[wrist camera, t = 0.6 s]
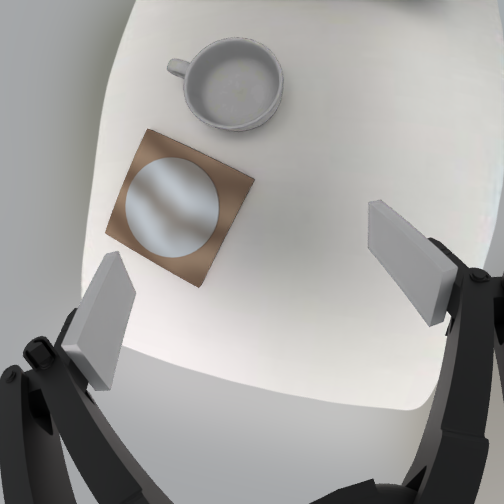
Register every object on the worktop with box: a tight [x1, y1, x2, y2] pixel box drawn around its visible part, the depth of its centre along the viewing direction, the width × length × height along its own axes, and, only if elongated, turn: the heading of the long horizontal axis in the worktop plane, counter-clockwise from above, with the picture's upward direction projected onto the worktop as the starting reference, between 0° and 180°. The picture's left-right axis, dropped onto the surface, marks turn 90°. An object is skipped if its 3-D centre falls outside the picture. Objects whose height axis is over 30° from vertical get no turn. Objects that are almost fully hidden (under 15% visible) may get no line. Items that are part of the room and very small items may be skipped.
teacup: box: [167, 37, 283, 131], centre depth 32 cm, size 14×11×8 cm
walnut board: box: [105, 129, 255, 288], centre depth 40 cm, size 16×16×2 cm
